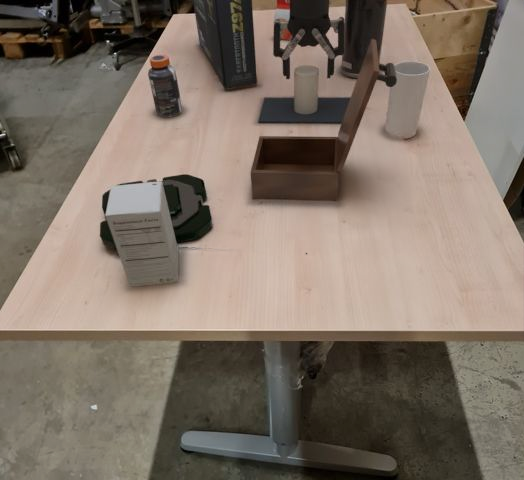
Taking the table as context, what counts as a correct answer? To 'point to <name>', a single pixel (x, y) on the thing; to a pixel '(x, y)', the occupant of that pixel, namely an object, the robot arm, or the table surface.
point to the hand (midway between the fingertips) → (308, 77)
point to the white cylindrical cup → (406, 98)
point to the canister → (306, 89)
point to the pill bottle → (164, 87)
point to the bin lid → (362, 99)
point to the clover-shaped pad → (175, 208)
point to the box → (228, 39)
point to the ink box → (283, 16)
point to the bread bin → (295, 168)
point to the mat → (284, 113)
